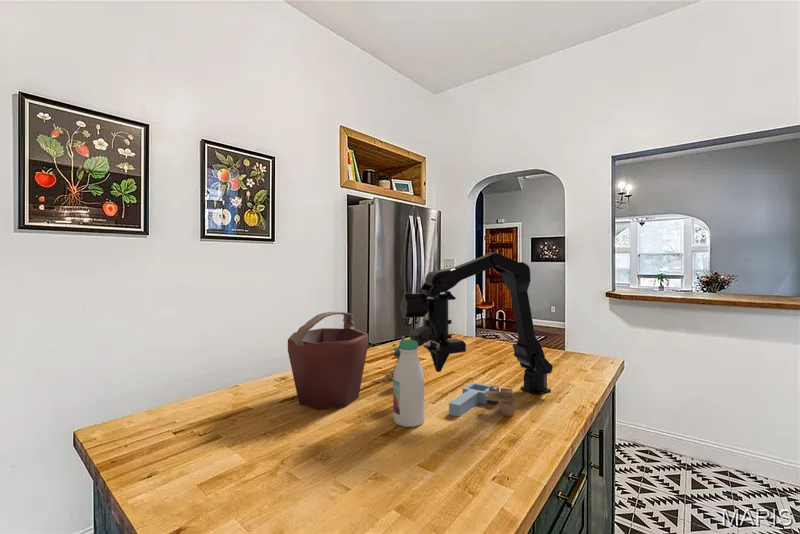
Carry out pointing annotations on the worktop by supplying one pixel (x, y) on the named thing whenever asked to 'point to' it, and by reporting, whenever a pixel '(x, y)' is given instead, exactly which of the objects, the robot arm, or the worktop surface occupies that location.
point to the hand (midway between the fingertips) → (438, 371)
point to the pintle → (495, 389)
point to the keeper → (502, 400)
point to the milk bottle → (408, 387)
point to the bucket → (327, 363)
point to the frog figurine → (391, 373)
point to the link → (468, 399)
